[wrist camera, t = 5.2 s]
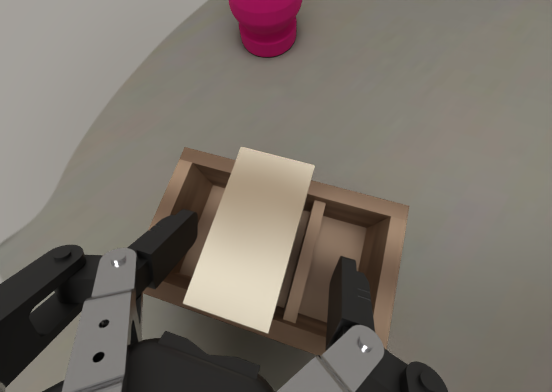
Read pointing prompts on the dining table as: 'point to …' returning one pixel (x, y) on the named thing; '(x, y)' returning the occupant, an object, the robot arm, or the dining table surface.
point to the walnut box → (295, 249)
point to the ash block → (251, 239)
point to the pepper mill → (266, 24)
